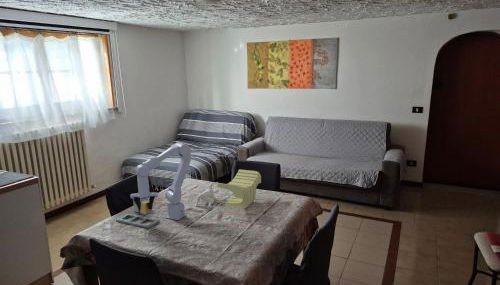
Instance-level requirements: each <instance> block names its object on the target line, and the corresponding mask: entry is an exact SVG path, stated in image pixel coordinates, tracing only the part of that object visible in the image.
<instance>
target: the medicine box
mask: <svg viewBox="0 0 500 285" xmlns="http://www.w3.org/2000/svg"><path fill="white" fill-rule="evenodd" d="M144 200H146V201H149V197H140V202H142V201H144ZM132 202H133V212H135V213H138V214H139V213H140V210H139V209H138V207H137V205H136V203H135V202H134V198H132Z"/></svg>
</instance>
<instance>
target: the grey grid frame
mask: <svg viewBox="0 0 500 285" xmlns="http://www.w3.org/2000/svg"><path fill="white" fill-rule="evenodd" d="M127 218H131V219H129V220H127ZM115 220H116V222H117V223H122V224H126V225H131V226H135V227H139V228H144V229H148V230H149V229H151V228H153V227H154V226H156V225H157V224H159V223H161V221H160V219H156V218H150V217H147V216H141V215H136V214H133V213H132V214H131V213H126V214H124V215H122V216H120V217H118V218H116V219H115ZM136 220H141V221H138V222H135V221H136ZM146 222H150V223H149V224H145V223H146Z"/></svg>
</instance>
